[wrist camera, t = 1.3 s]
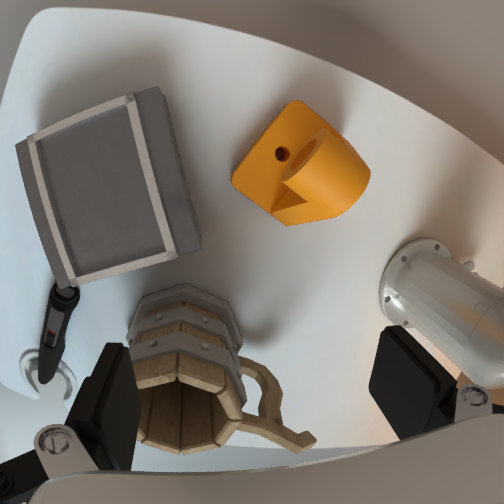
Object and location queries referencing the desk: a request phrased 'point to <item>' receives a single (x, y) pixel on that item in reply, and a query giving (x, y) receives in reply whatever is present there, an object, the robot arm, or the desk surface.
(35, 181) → the grey square tray
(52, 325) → the electric trimmer
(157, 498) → the robot arm
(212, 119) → the desk surface
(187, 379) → the tankard
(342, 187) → the bracket
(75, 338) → the desk surface
